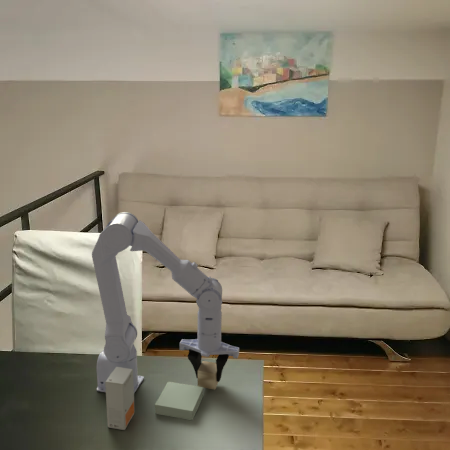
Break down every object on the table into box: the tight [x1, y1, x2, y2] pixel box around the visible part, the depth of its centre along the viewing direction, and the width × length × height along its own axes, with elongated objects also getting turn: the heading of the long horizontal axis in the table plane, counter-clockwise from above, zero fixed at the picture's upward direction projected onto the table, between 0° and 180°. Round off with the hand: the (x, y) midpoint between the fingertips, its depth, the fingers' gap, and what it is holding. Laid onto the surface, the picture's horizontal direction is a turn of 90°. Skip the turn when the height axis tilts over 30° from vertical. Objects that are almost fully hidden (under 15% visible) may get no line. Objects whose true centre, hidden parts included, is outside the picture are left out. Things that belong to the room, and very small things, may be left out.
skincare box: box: [105, 367, 135, 431], centre depth 112 cm, size 6×4×12 cm
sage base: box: [154, 381, 204, 421], centre depth 119 cm, size 9×9×2 cm
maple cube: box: [197, 360, 219, 390], centre depth 124 cm, size 4×4×4 cm
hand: (208, 377), depth 125 cm, fingers closed on maple cube, 4 cm apart
